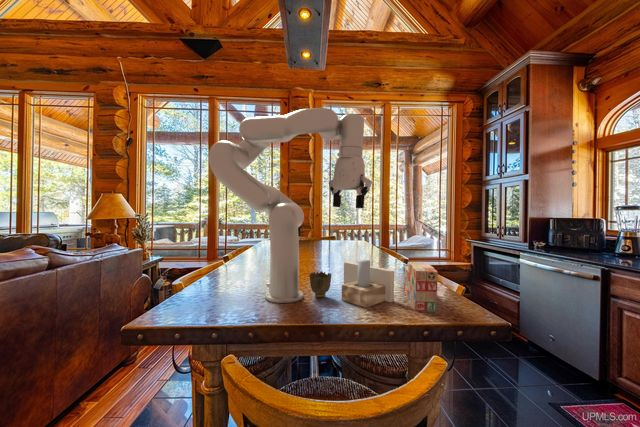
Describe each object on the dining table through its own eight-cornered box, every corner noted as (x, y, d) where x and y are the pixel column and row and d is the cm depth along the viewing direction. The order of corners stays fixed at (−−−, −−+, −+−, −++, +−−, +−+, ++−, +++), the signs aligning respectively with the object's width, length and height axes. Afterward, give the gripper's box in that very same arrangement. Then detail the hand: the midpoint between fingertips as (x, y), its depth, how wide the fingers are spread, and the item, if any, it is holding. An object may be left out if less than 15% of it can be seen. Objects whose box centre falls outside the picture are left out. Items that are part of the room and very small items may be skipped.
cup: (335, 297, 97) (336, 273, 97) (321, 302, 92) (321, 277, 92) (319, 292, 102) (319, 270, 102) (304, 297, 97) (304, 273, 97)
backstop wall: (343, 289, 107) (343, 262, 107) (347, 288, 108) (347, 261, 108) (390, 302, 92) (390, 271, 92) (393, 301, 94) (394, 270, 94)
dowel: (354, 297, 94) (355, 260, 94) (362, 294, 97) (362, 259, 96) (365, 300, 91) (365, 262, 91) (372, 297, 94) (372, 260, 94)
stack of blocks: (403, 290, 106) (403, 257, 106) (420, 291, 106) (421, 257, 105) (415, 311, 85) (415, 269, 85) (437, 312, 84) (438, 270, 84)
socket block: (341, 299, 94) (341, 284, 94) (360, 293, 101) (360, 279, 101) (366, 307, 87) (366, 291, 87) (385, 300, 94) (385, 285, 94)
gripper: (323, 155, 96) (320, 206, 97) (365, 149, 84) (362, 208, 84) (338, 158, 101) (335, 206, 102) (379, 153, 89) (376, 209, 90)
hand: (347, 207), depth 93 cm, fingers open, 9 cm apart
